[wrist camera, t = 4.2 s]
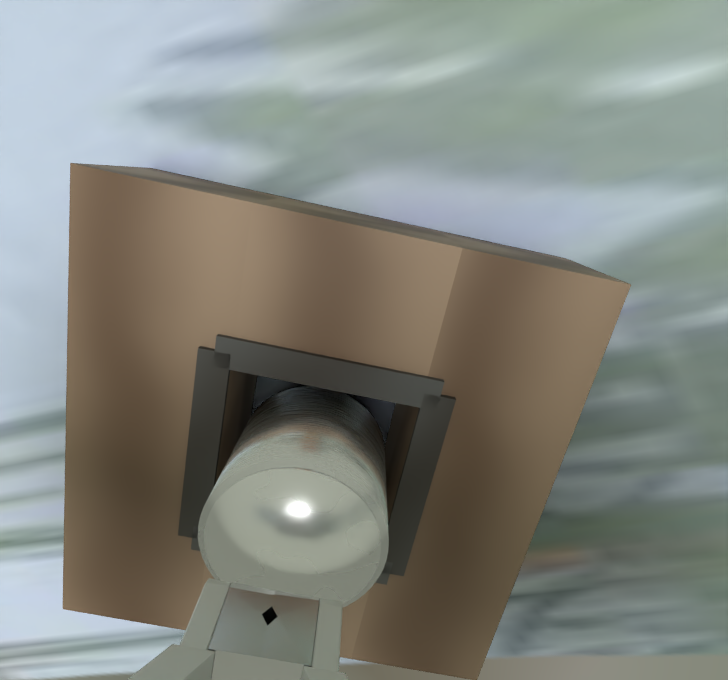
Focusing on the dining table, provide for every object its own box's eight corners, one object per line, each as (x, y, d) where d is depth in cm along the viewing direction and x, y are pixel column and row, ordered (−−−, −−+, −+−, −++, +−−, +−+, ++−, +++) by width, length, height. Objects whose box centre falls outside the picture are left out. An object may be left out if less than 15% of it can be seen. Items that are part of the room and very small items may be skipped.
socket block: (565, 258, 19) (634, 286, 14) (455, 579, 24) (477, 685, 19) (151, 167, 18) (66, 162, 13) (127, 519, 23) (59, 613, 18)
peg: (399, 402, 16) (409, 483, 12) (368, 522, 18) (366, 633, 13) (252, 373, 16) (207, 444, 12) (234, 497, 18) (188, 602, 13)
